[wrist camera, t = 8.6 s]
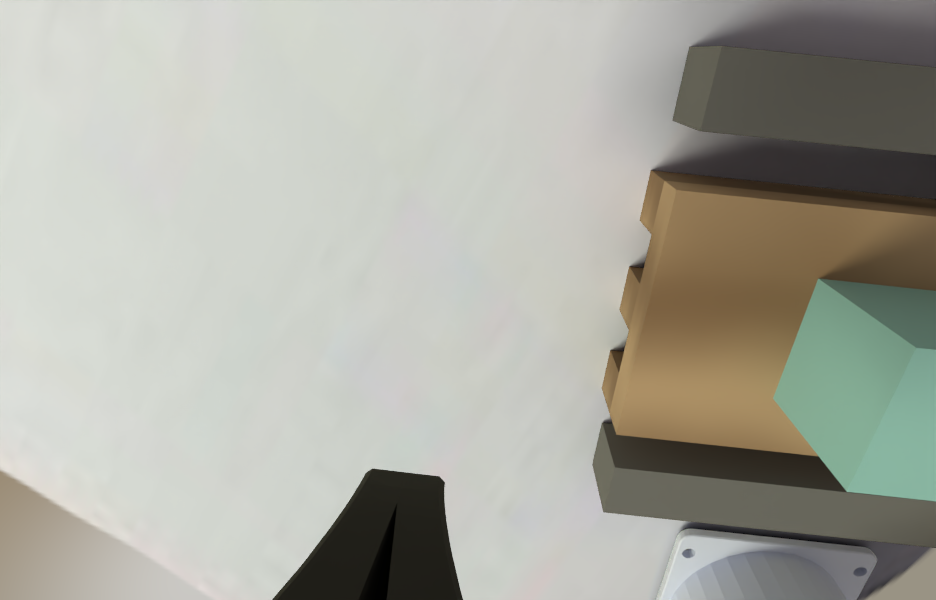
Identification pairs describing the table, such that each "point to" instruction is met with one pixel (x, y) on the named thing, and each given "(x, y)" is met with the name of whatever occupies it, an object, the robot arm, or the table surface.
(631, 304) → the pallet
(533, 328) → the table surface
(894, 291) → the block
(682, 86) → the dock
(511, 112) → the table surface
